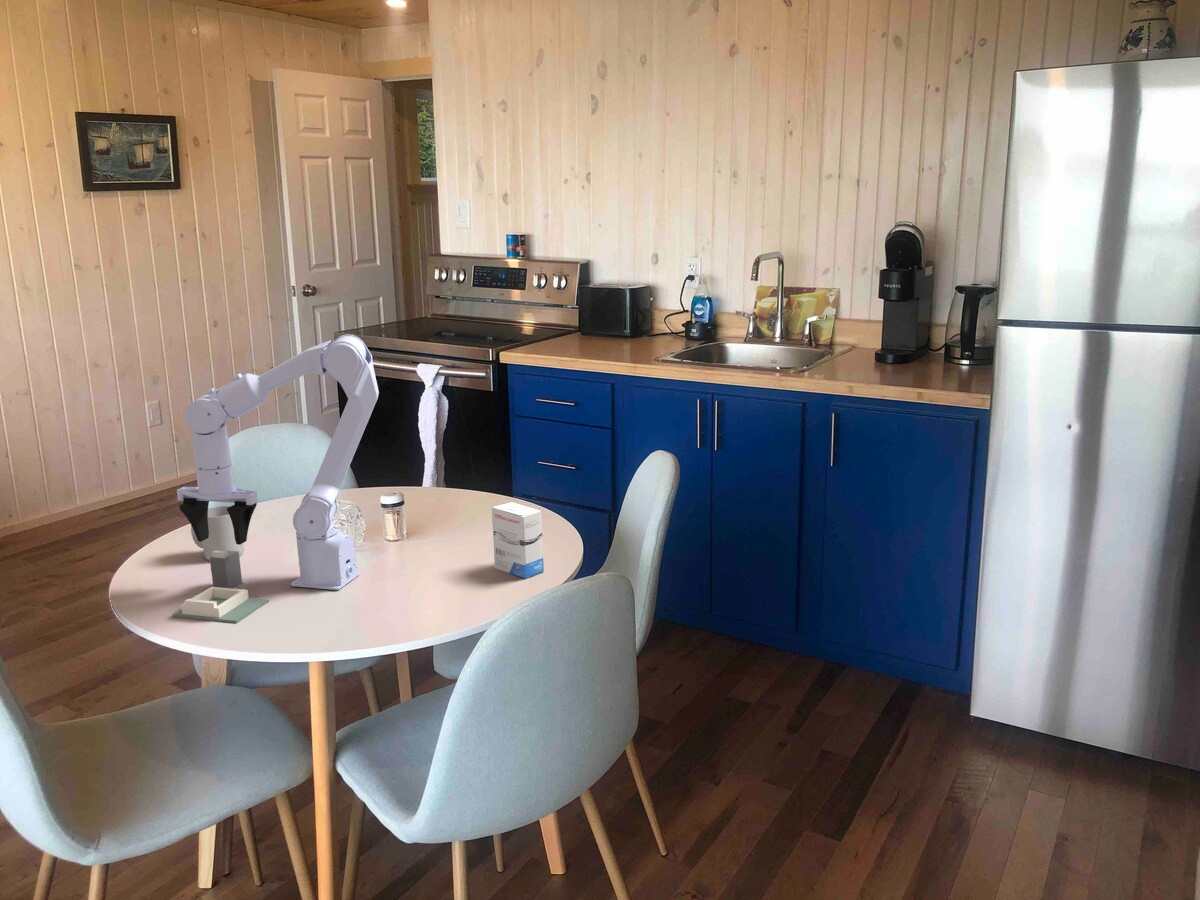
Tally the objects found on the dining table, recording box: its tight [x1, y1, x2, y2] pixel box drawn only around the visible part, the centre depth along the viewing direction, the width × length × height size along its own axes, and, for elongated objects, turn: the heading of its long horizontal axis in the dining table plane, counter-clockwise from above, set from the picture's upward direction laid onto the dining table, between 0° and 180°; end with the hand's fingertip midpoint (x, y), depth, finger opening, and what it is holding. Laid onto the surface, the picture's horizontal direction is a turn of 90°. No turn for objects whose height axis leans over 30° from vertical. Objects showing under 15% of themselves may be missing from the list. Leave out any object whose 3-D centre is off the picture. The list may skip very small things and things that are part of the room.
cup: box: [190, 505, 245, 562], centre depth 186 cm, size 7×10×9 cm
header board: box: [171, 586, 269, 624], centre depth 161 cm, size 12×9×3 cm
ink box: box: [491, 501, 545, 579], centre depth 175 cm, size 8×5×12 cm, turn 47°
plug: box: [209, 550, 243, 589], centre depth 170 cm, size 3×4×7 cm
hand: (222, 541), depth 169 cm, fingers open, 7 cm apart
